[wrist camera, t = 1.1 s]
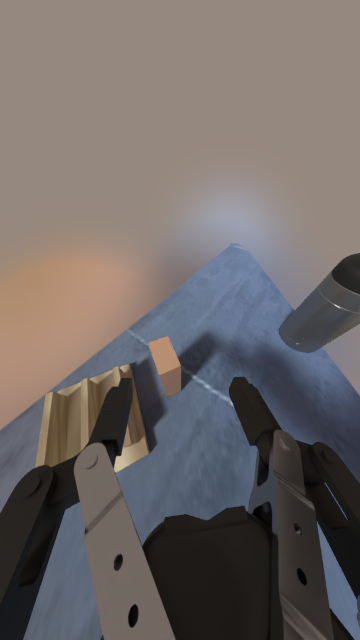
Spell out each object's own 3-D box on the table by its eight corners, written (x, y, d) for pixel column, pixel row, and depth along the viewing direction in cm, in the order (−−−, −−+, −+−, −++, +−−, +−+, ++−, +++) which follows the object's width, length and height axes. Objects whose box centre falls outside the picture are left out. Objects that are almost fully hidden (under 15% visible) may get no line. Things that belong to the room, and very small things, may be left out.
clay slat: (172, 369, 32) (167, 335, 21) (181, 391, 29) (181, 365, 18) (159, 374, 31) (148, 343, 20) (167, 397, 28) (159, 375, 18)
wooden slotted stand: (130, 366, 33) (122, 354, 28) (150, 453, 23) (142, 457, 19) (62, 393, 29) (40, 385, 24) (54, 507, 20) (15, 530, 15)
